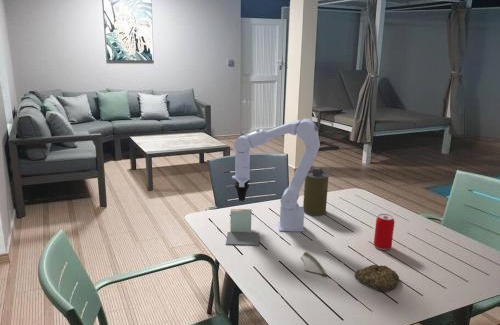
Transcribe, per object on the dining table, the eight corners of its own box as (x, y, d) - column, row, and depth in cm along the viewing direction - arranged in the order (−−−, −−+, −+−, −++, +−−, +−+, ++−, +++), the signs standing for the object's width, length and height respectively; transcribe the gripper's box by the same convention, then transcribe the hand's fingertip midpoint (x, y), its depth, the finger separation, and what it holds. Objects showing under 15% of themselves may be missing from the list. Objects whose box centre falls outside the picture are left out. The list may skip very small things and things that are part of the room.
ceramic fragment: (328, 277, 126) (328, 266, 125) (313, 280, 124) (314, 269, 123) (305, 257, 138) (305, 247, 137) (292, 260, 136) (292, 250, 135)
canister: (322, 217, 171) (325, 172, 166) (299, 213, 175) (301, 169, 170) (329, 209, 180) (332, 166, 175) (306, 205, 185) (309, 163, 179)
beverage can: (392, 245, 147) (396, 215, 144) (390, 252, 142) (394, 221, 139) (374, 241, 150) (378, 211, 147) (372, 248, 144) (375, 217, 141)
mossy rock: (382, 296, 116) (383, 281, 115) (348, 277, 126) (350, 263, 125) (407, 282, 124) (409, 268, 122) (374, 265, 133) (376, 252, 132)
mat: (258, 233, 154) (258, 232, 154) (259, 245, 145) (259, 244, 145) (227, 232, 154) (227, 231, 154) (225, 244, 145) (225, 243, 145)
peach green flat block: (251, 230, 157) (251, 209, 154) (251, 233, 155) (251, 211, 152) (230, 230, 157) (230, 208, 154) (230, 232, 155) (230, 210, 153)
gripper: (233, 161, 165) (233, 192, 169) (231, 171, 151) (231, 204, 155) (250, 161, 165) (249, 192, 169) (250, 171, 151) (249, 205, 155)
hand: (241, 198), depth 162 cm, fingers open, 4 cm apart
